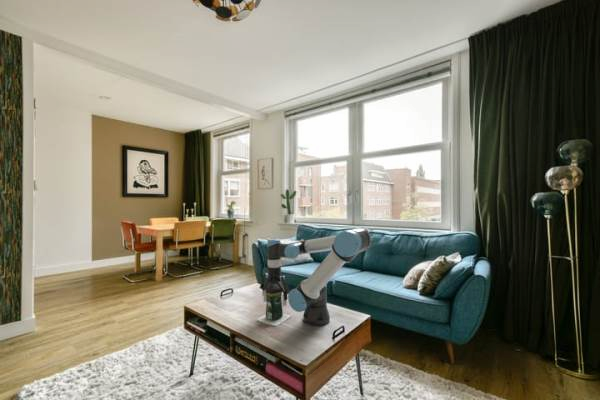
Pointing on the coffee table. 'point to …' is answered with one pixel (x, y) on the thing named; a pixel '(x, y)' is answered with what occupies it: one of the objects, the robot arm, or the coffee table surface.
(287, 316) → the plate
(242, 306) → the coffee table surface
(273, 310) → the coffee jar
